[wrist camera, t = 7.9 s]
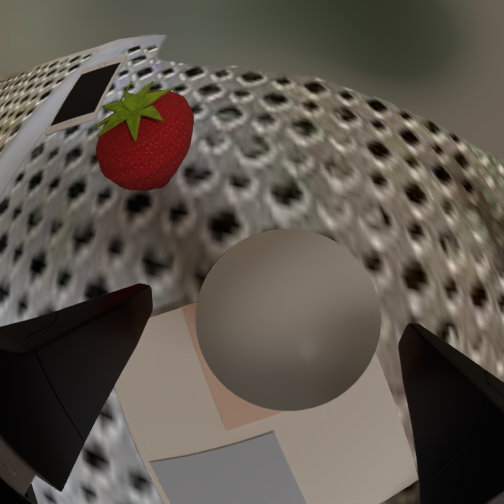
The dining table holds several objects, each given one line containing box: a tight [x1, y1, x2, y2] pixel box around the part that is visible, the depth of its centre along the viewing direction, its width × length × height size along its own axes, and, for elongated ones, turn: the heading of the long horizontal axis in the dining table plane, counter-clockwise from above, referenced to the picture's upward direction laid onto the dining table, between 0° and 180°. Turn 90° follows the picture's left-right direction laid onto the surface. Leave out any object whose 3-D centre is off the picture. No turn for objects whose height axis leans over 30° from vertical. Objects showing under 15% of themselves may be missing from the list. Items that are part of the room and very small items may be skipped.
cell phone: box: [45, 56, 127, 135], centre depth 28 cm, size 8×16×1 cm, turn 5°
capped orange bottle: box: [195, 229, 381, 411], centre depth 11 cm, size 4×4×10 cm
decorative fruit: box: [96, 81, 194, 191], centre depth 16 cm, size 6×8×10 cm
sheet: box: [115, 302, 418, 504], centre depth 14 cm, size 16×18×1 cm
